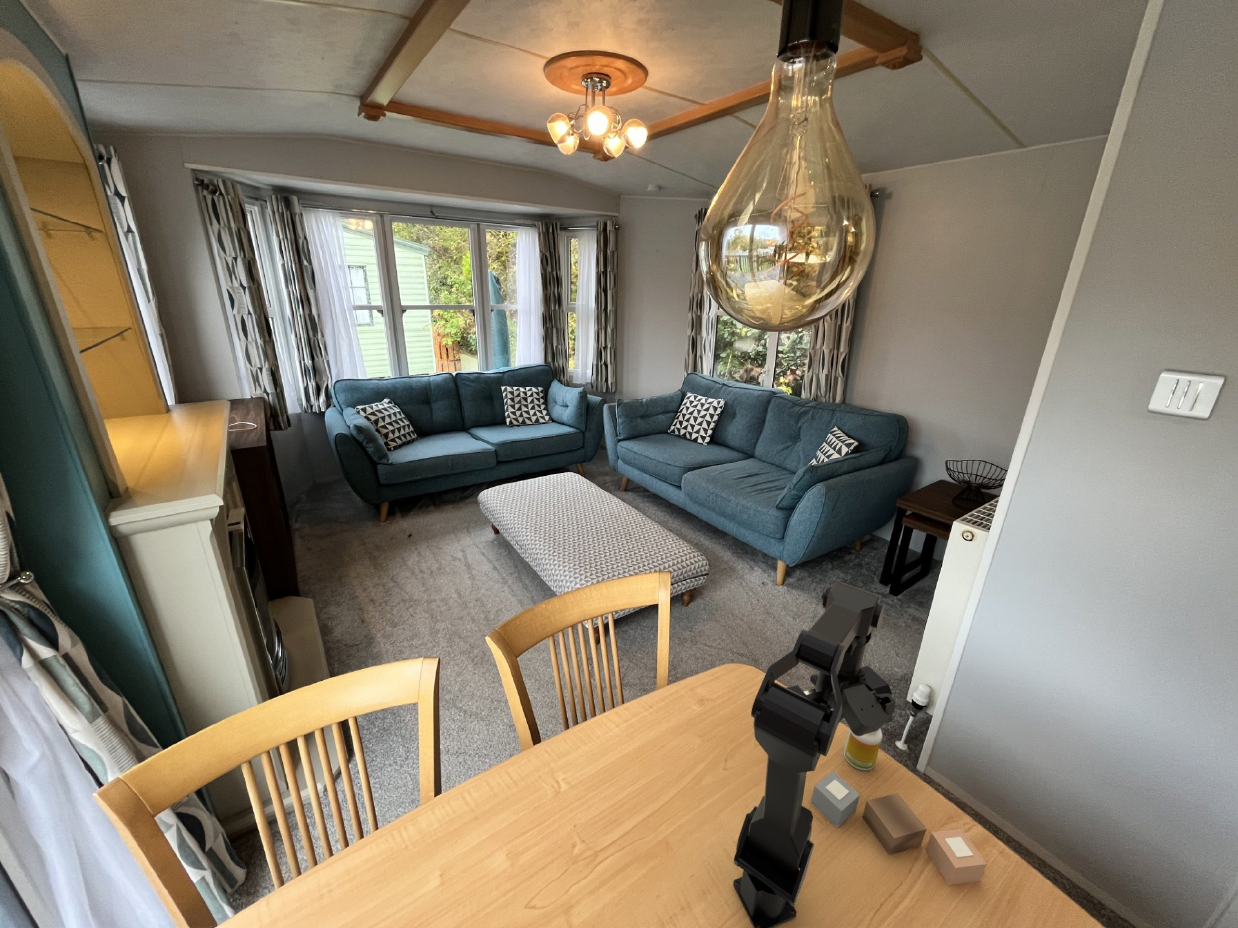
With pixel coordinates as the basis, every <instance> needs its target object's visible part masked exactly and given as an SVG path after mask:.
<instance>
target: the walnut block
mask: <svg viewBox="0 0 1238 928" xmlns="http://www.w3.org/2000/svg"><path fill="white" fill-rule="evenodd" d="M861 817H862V819H863V821H864V822H865V823H866V825H867V826H868V828H869V829H870V831H872V833H873V835H874V836H875V838H876V839H877V840H878V842H879V843H880V845H881V847H882V848H883V849H884V851H885V852H886V853H887V855H888V856H891V855H894V854H899V853H901V852H904V851H908V850H911V849H914V848H918V847H921V846H922V844H923V841H924V839H925V836H926V832H927V830H928V829H927V827H926V826H925V825H924V823H922V821H921V820H920V819H919V817H918V816H917V815H916V814H915V812H914V811H913V810H912V809H911V807H910V806H909V805H908V804H907V803H906V801H905V800H904V799H903V798H902V796H901V795H900V794H899V793H898V792H896V793H890V794H887V795H883V796H879V797H875V798H872V799H869V800H866V802H865V806H864V809H863V813H862V816H861Z"/></svg>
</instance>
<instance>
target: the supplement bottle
mask: <svg viewBox="0 0 1238 928" xmlns="http://www.w3.org/2000/svg"><path fill="white" fill-rule="evenodd" d="M846 734H847V735H846V737H845V741H844V746H843V756H844V758H845V760H846V761H847V763H848V764H849V765H850V766H852V767H853V768H855V769H857V770H860V771H870V770H872V769H873V768H874V767H875V765H876V761H877V758H878V754H879V751H878V750H880V747H881V743H882V740H883V732H882V730H881V727H880V728H879V729H878V730H877V731H875V732H871V733H868V734H865V735H863V736H856V735H855V734H854V733H853V732H852V731H851V730H850V727H849V726H848V730H847V733H846Z"/></svg>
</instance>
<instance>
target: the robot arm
mask: <svg viewBox="0 0 1238 928" xmlns="http://www.w3.org/2000/svg"><path fill="white" fill-rule="evenodd" d="M881 598H882V597H881V595H879V594H876V593H873V592H870V591H868V590H865V589H862V588H860V587H856V586H853V585H850V584H848V583H845V582H841V581H839V580H838V581H836V582H834V584H833V586H831V585H830V586H829V587H827V588H826V590H825V591H823V592H822V595H821V601H822V603H821V605H822V608H823V609H824V612H823V613H822V615H820V616H819V618H818V619H817V620H816V621H815V622H814V624H813V625H811V627H810V628H809V629H808V630H805V629H802V630H801V631H800V632H799V634H798V637H797V639H796V642H795V643H794V646H793V649H792V650H791V651H790V652H788V653H787V654H785V655H783V656H782V657H781V658H780V659H778V660H777V661H775V662H773V663H772V664H771V665H769V667H768V668H767V671H766V673H765V674H764V677H763V680H762V682H761V685H759V689H758V691H757V694H756V695H755V698H754V701H753V704H752V707H751V711H750V712H751V715H750V716H751V718H753V735H754V738H755V741H756V742H757V743H758V745H760V747H761V748H762V750H763V751H764V752H765V753H766V755H767V758H766V759H767V761H766V774H765V775H766V776H765V786H764V795H763V796H762V797H761V800H760V802H759V804H758V806H757V805H754V806H753V808H752V810H751V811H750V812H748V813H746V815H745V817H744V820H743V823H742V826H741V829H740V832H739V834H738V838H737V842H736V847H735V850H736V852H735V854H734V857H733V863H734V865H735V866H737V867H738V868H740V869H742V876H740V877H738V878H735V879H734V880H733V882H732V883H733V884H732V885H733V888H734V890H735V892H736V894H737V896H738V898H739V900H740V902H741V904H742V906H743V908H744V910H745V912H746V915H747V916H748V918H749V920H750V922H751V925H752V926H753V928H758V927H759V928H775V927H777V926H779V925H781V924H784V923H785V922H788V921H791V920H793V919H795V918H796V917H797V910H796V908H795V905H796V902H797V899H798V897H799V895H800V892H801V889H802V887H803V884H804V881H805V878H806V875H807V872H808V869H809V865H810V861H811V858H812V855H813V850H814V847H815V843H814V842H812V841H811V837H812V832H813V826H812V825H813V820H814V814H813V812H812V810H810V809H809V808H807V807H805V806H804V805H803V800H804V795H805V794H804V793H805V787H806V781H807V780H806V779H807V776H808V775H807V773H808V772H814V771H815V770H816V768H817V765H818V762H819V760H820V758H821V755H822V756H824V757H825V758H826V757H827V756H828V755H829V754H828V753H829V751H830V748H831V746H832V743H833V740H834V737H835V734H836V731H837V729H838V726H839V724H840V722H841V721H842V720H843V719H845V722H846V723H847V725H848V728H849V727H850V730H851V731H852V732H853V733H854V734H855V735H856V736H863V735H865V734H868V733H871V732H875V731H877V730H878V729H879V728H880V729H881V728H882V727H883V726H884V725H885V724H889V723H891V722H893V714H894V713H895V709H896V703H897V702H896V701H895V699H894V697H892V695H893V689H892V688H891V685H890V684H889V683H888V682H887V681H886V680H885V679H884V678H882V677H881V675H879V674H878V673H877V672H876V671H875V670H874V669H872V668H871V667H870V666H869V665H863V659H864V656H865V652H866V647H867V644H868V643H870V640H871V639H872V636H873V635H874V632H875V630H880V628H881V626H882V624H883V619H884V612H885V611H884V610H885V605H884V604H883V603H882V604H881V603H880V601H881ZM799 663H801V664H803V665H805V666H807V667H809V668H812V669H814V670H816V671H817V673H816V674H811V675H810V678H809V681H810V682H811V684H813V686H814V688H812V689H809V690H804V691H803V690H802V688H801V687H800V686H799V685H798V684H794V685H789V686H786V687H785V686H783V685H782V684H779V683H777V682H776V681H777V680H778V679H779V678H781V677H782V676H783V675H785V674H786V673H789V672H790V671H791V670H792V669H793V668H794V669H795V667H797V666H798V665H799ZM862 665H863V666H862Z"/></svg>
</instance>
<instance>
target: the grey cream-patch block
mask: <svg viewBox="0 0 1238 928" xmlns="http://www.w3.org/2000/svg"><path fill="white" fill-rule="evenodd" d="M860 796H861V795H860V794H859V792H858V791H856V790H855V789H854V788H853V787H852V786H851V785H850V784H848V782H846V781H845V780H844V779H843V778H841V776H839V775H838V773H836V772H835V771H831V772H829V774H827V775H826V776H825V777H824V778H823V779H821V780H820V781H818V782H817V784H815V785H814V787H813V792H812V797H811V801H810V803H811V804H812V805H813V806H814V807H815V808H816V809H817V810H818V811H819V812H820V813H821V814H822V815H823V816H824V817H826V819H828V820H829V822H831V824H833V825H834V826H835V827H836V828H839V827H840V826H841V825H842V824H843V823H844V822H845V821H847V819H849V818H850V817H851V816H852V815H853V814H854V813H855V812H856V810H857V807H858V803H859V800H860V799H859V798H860Z"/></svg>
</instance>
